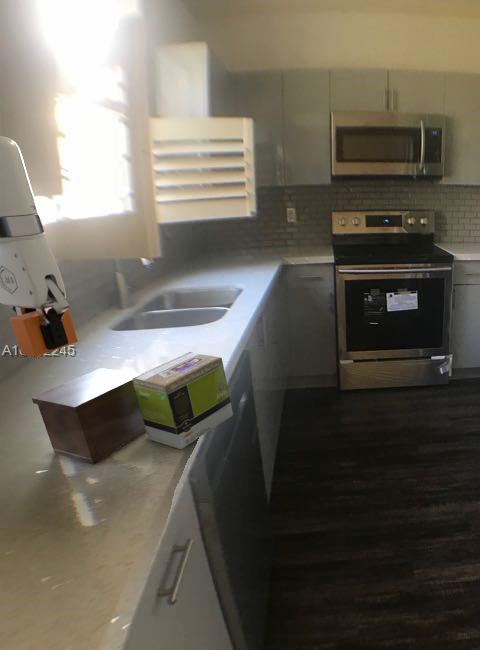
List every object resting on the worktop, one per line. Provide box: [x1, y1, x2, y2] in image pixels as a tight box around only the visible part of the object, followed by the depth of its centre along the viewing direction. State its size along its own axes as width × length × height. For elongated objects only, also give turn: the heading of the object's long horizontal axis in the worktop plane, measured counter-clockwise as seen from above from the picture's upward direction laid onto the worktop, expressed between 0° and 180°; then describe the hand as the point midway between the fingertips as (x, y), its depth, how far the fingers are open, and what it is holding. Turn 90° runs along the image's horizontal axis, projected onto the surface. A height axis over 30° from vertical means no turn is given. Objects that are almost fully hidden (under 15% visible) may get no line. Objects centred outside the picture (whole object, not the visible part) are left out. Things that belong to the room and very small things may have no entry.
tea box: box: [132, 351, 234, 450], centre depth 97 cm, size 15×10×15 cm
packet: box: [9, 307, 78, 358], centre depth 73 cm, size 3×7×6 cm, turn 159°
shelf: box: [31, 367, 147, 465], centre depth 93 cm, size 12×15×13 cm
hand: (49, 344), depth 74 cm, fingers closed on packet, 3 cm apart
